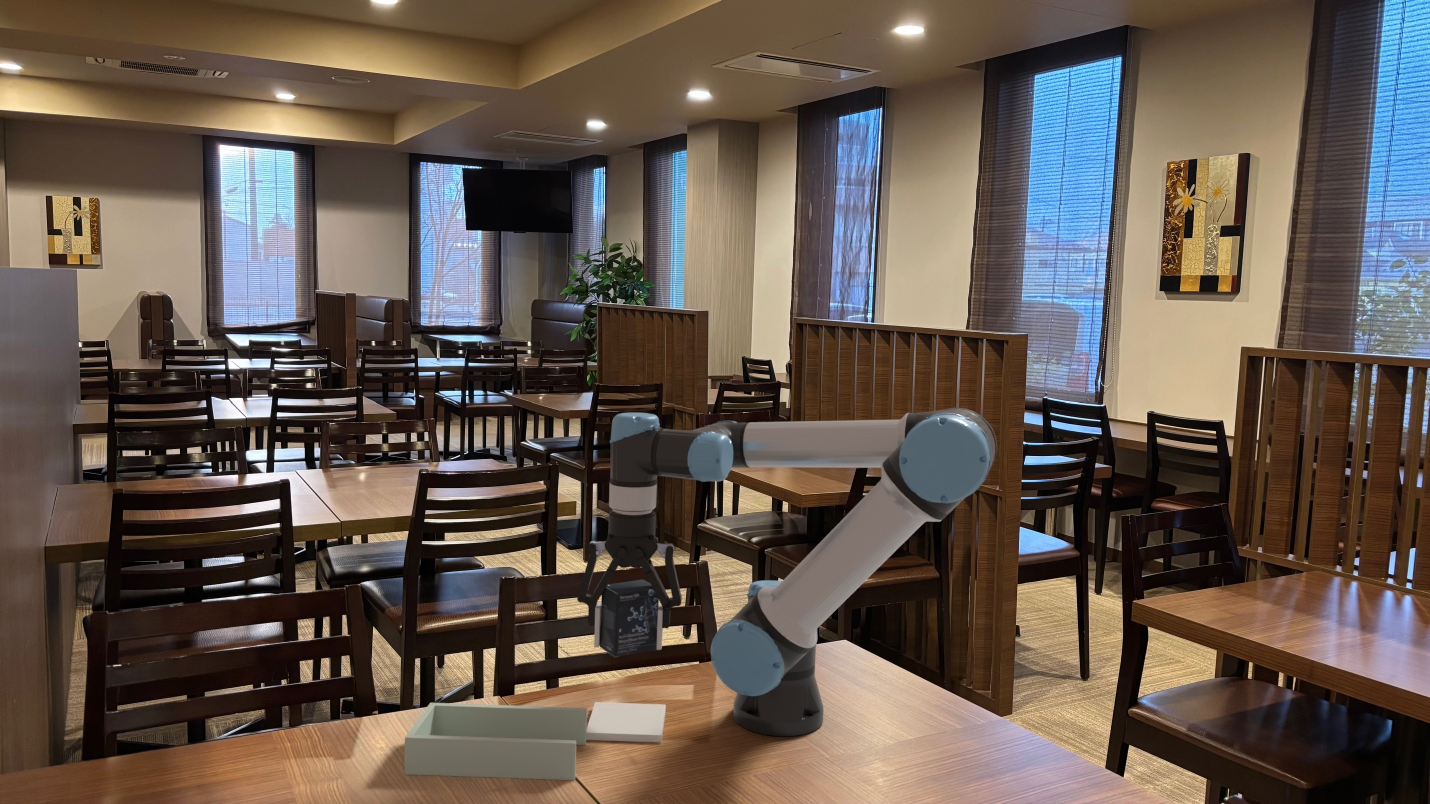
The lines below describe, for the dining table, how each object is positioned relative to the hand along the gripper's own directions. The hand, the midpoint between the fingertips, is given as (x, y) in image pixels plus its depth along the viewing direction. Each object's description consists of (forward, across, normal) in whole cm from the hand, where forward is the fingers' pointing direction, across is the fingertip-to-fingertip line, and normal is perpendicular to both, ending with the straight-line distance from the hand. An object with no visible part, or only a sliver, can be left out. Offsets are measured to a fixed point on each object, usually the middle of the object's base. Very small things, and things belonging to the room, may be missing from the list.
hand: (628, 645), depth 160 cm
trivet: (+13, 0, 0) cm, 13 cm away
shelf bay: (+13, +18, +13) cm, 26 cm away
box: (+1, 0, 0) cm, 1 cm away
